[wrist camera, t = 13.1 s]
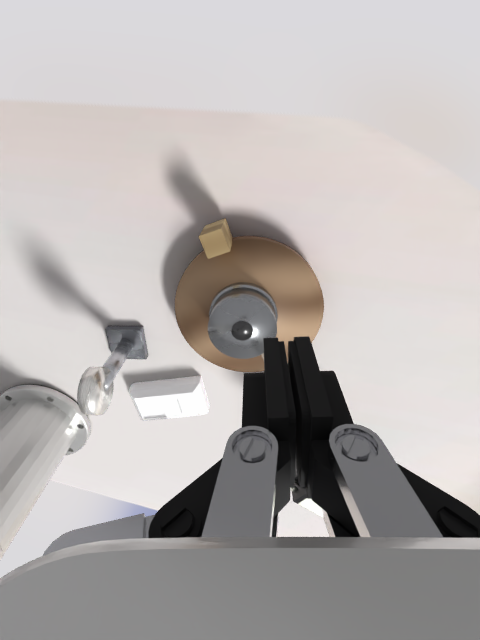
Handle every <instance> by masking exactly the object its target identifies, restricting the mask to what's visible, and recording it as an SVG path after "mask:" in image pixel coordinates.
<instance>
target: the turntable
mask: <svg viewBox="0 0 480 640" xmlns="http://www.w3.org/2000/svg"><path fill="white" fill-rule="evenodd" d="M199 239H200V241H201V244H202V246H203V248H204V250H203V251H202V252H201V253H200V254H198V255H197V256H196V257H195V258H194V260H193V261H192V262H191V263H190V264H189V266H188V267H187V269H186V270H185V272H184V274H183V276H182V278H181V280H180V282H179V284H178V287H177V291H176V296H175V314H176V319H177V323H178V326H179V328H180V331H181V333H182V335H183V336H184V338H185V340H186V341H187V342H188V343H189V345H190V346H191V347H192V348H193V349H194V350H195V351H196V352H197V353H198V354H199V355H201V356H202V357H203V358H205V359H206V360H208V361H210V362H211V363H213V364H215V365H218V366H220V367H223V368H226V369H229V370H234V371H241V372H259V371H264V353H263V354H261V355H259V356H257V357H254V358H249V359H238V358H233V357H230V356H227V355H225V354H223V353H222V352H220V351H219V350H218V349H217V348H216V347H215V346H214V345H213V344H212V342H211V340H210V338H209V335H208V322H209V311H210V307H211V303H212V301H213V299H214V297H215V295H216V294H217V293H218V292H219V291H220V290H221V289H223V288H224V287H226V286H228V285H230V284H234V283H239V282H247V283H253V284H256V285H258V286H260V287H262V288H264V289H265V290H266V291H268V292H269V293H270V295H271V296H272V297H273V299H274V301H275V303H276V307H277V314H278V319H277V335H276V337H278V341H284V344H285V350H286V357H287V363H288V341H293V340H294V337H304V336H309V337H310V340H311V343H312V341H313V340H314V338H315V336H316V335H317V333H318V330H319V328H320V326H321V322H322V318H323V311H324V301H323V295H322V290H321V287H320V284H319V282H318V279H317V277H316V275H315V273H314V272H313V270H312V268H311V267H310V265H309V264H308V263H307V261H306V260H305V259H304V258H303V257H302V256H301V255H300V254H298V253H297V252H296V251H294V250H293V249H292V248H290V247H288V246H287V245H285V244H283V243H280V242H278V241H276V240H273V239H269V238H265V237H258V236H240V237H232V234H231V232H230V229H229V226H228V224H227V221H226V218H224V219H222V220H219V221H216V222H214V223H211V224H208V225H205V227H204V229H203V230H202V232H201V233H200V235H199Z"/></svg>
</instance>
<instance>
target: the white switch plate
mask: <svg viewBox="0 0 480 640" xmlns="http://www.w3.org/2000/svg"><path fill="white" fill-rule="evenodd" d="M128 391H129V394H130V396H131V398H132V400H133V403H134V405H135V407H136V409H137V412H138V414H139V416H140V418H141V420H143V421H147V420H157V419H168V418H178V417H189V416H199V415H203V414H207V413H209V407H210V404H209V401H208V397H207V394H206V390H205V387H204V383H203V380H202V376H192V377H183V378H174V379H165V380H156V381H147V382H138V383H132V385H131V386H130V388H129V390H128Z"/></svg>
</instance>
